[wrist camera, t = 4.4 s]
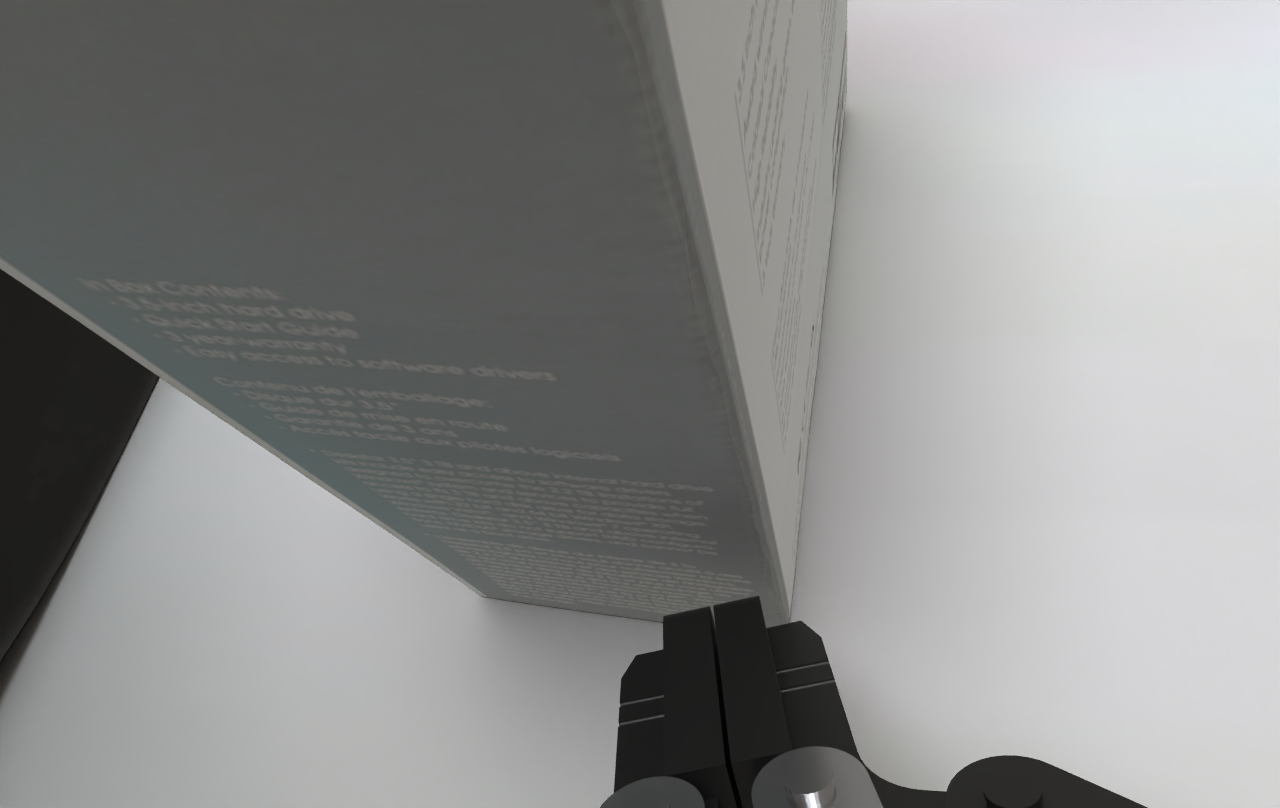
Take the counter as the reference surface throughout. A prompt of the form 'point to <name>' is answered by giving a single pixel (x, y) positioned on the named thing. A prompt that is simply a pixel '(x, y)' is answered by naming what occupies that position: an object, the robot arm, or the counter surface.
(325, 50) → the hard drive box
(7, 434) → the magazine
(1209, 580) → the counter surface
